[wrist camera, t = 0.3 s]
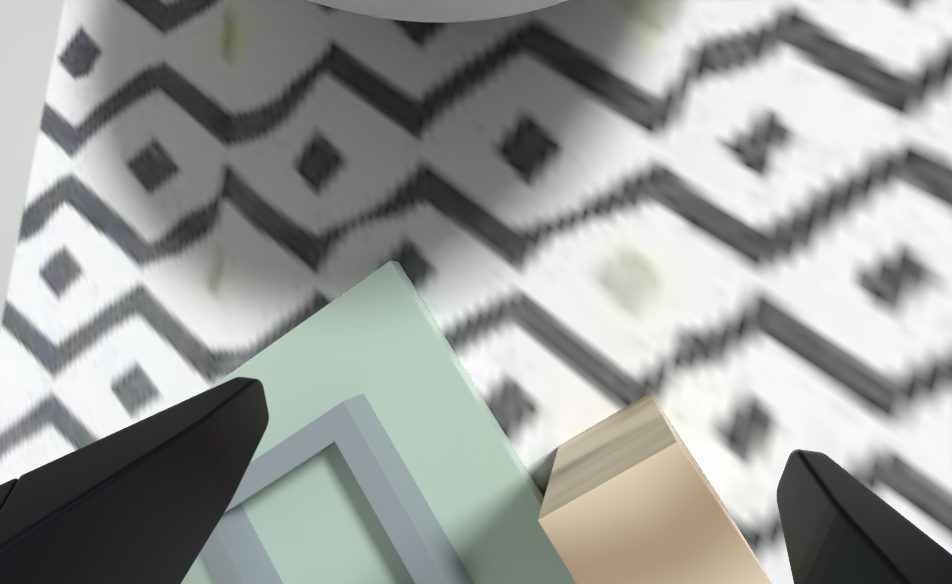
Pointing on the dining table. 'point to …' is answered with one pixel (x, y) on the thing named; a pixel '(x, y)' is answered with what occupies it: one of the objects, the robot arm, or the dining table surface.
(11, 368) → the dining table surface
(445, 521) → the socket board
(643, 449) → the birch peg
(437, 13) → the decorative bowl
